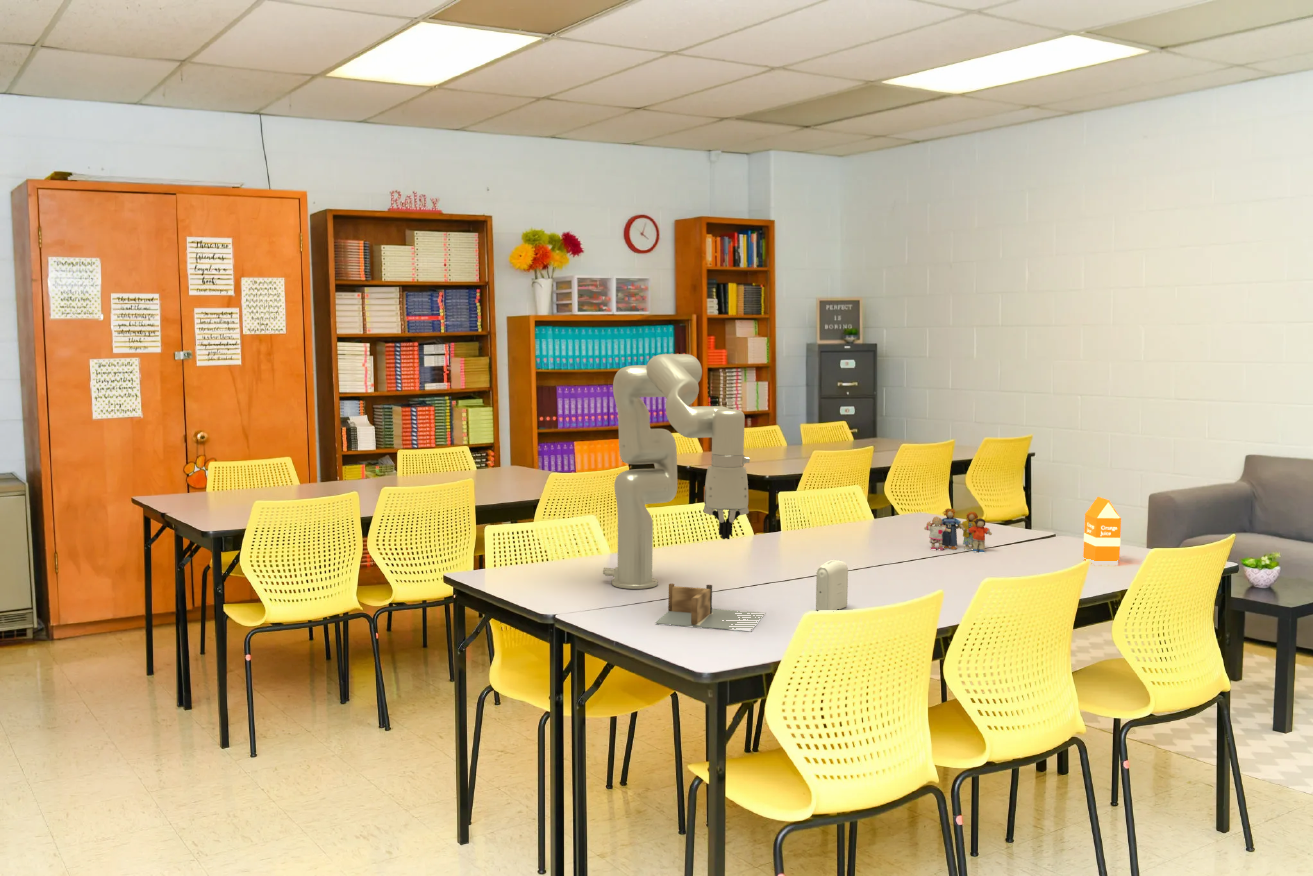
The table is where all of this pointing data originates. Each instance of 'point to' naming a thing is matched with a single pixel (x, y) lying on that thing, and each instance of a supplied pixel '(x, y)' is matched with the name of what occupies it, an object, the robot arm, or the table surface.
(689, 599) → the fence fixed
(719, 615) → the card
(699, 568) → the table surface
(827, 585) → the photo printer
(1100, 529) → the orange juice
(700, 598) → the fence gate
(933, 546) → the doll family
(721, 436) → the robot arm
